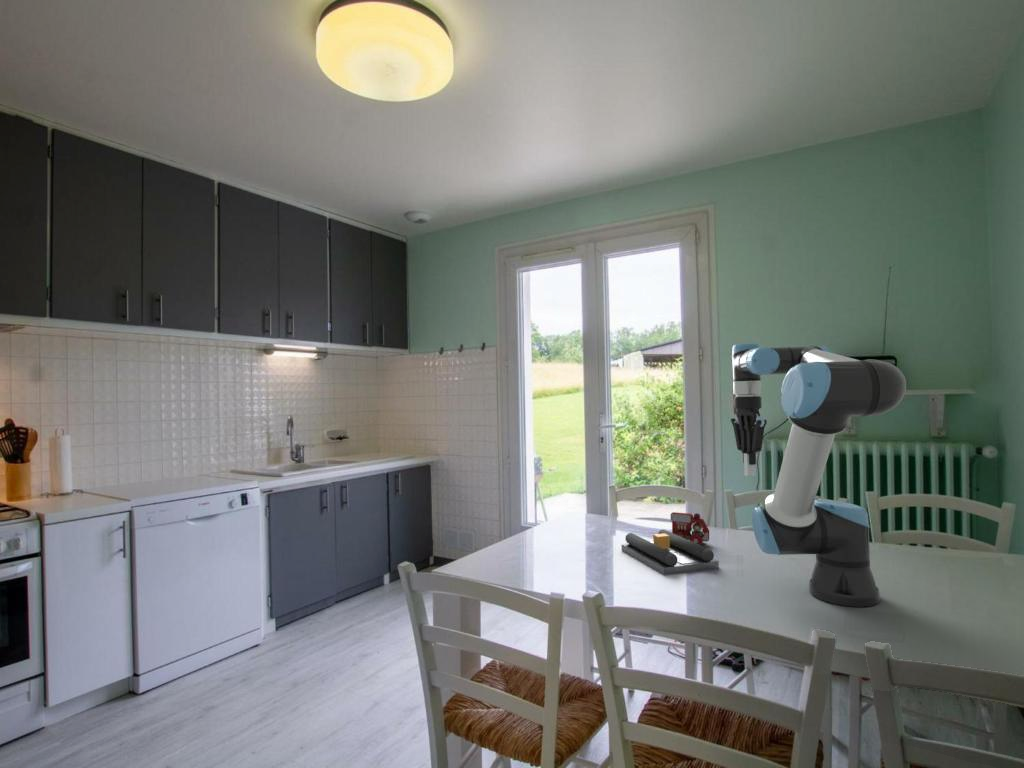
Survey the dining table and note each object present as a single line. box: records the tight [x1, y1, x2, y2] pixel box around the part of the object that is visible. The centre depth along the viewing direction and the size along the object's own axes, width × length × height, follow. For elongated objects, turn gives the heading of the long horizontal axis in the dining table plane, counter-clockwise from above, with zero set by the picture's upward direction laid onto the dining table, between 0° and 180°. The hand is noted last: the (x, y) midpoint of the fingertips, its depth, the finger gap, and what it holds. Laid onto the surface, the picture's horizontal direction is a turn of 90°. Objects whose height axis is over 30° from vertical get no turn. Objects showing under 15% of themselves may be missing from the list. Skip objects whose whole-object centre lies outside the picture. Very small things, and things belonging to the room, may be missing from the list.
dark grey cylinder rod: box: [625, 532, 678, 566], centre depth 171 cm, size 28×4×4 cm, turn 16°
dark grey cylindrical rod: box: [657, 529, 715, 561], centre depth 175 cm, size 28×4×4 cm, turn 16°
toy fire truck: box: [670, 511, 710, 546], centre depth 189 cm, size 7×12×10 cm, turn 64°
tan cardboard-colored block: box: [652, 533, 670, 549], centre depth 176 cm, size 3×4×4 cm
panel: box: [621, 540, 720, 576], centre depth 173 cm, size 26×18×2 cm
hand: (749, 475), depth 165 cm, fingers closed
